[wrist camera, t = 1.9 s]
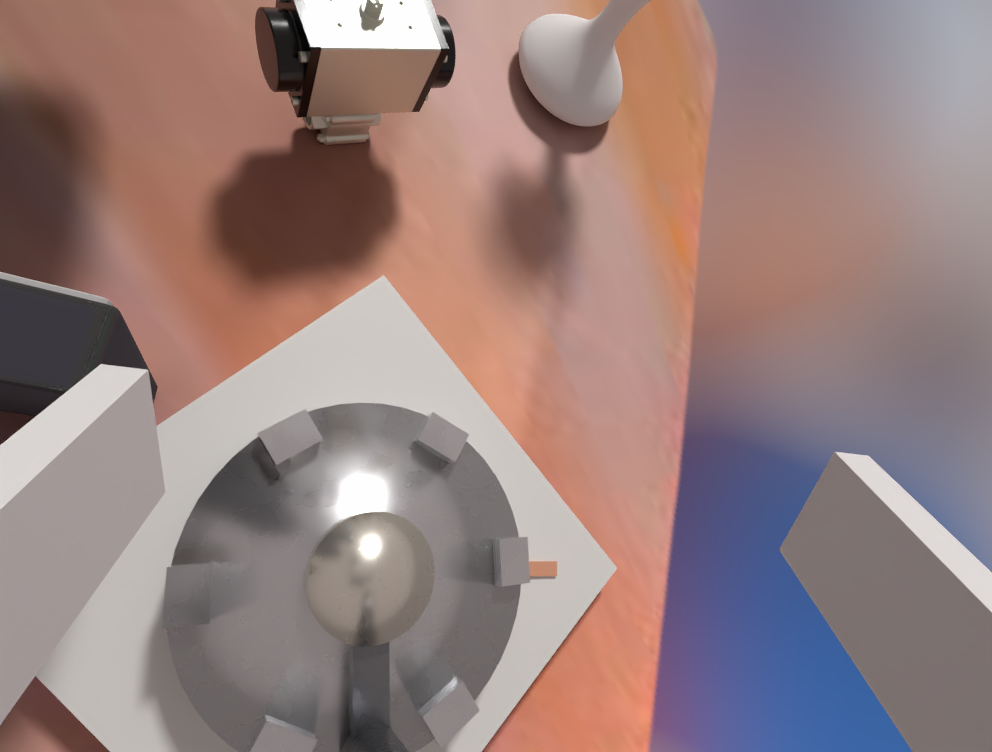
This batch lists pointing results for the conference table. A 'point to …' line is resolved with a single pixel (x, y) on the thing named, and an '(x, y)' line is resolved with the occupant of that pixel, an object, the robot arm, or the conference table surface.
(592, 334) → the conference table surface
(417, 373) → the base plate
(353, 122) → the pneumatic valve
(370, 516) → the round disc with peg
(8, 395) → the black upright block
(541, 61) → the flower in vase
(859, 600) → the robot arm
